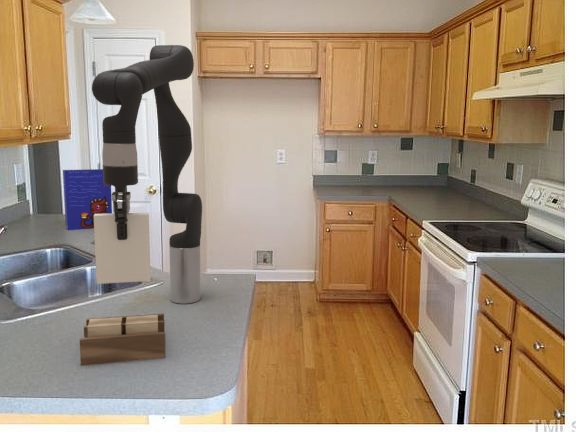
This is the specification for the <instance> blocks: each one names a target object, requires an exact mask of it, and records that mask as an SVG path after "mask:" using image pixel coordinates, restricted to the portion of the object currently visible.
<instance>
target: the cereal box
mask: <svg viewBox="0 0 576 432" xmlns="http://www.w3.org/2000/svg"><path fill="white" fill-rule="evenodd" d="M62 178H63V180H62V181H63V182H62V183H63V200H64V218H65V220H64V221H65V229H66V230H67V231H74V230H75V231H77V230H88V229H94V214H110V213H113V201H112V186H109V185H105V184H104V183H103V168H101V169H99V168H98V169H96V168H95V169H93V168H92V169H91V168H90V169H88V168H87V169H62Z"/></svg>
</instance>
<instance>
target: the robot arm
mask: <svg viewBox="0 0 576 432" xmlns="http://www.w3.org/2000/svg"><path fill="white" fill-rule="evenodd" d="M194 65H195V63H194V56H193V53H192V51H191V49H190V48H189V47H188V46H186V45H181V44H167V45H166V44H161V45H154V46H152V48H151V49H150V52H149V59H148V60H142V61H139V62H135V63H133V64H131V65H128V66H126V67H123V68H116V69H110V70H104V71H101V72H100V73H98V74H97V75H96V76H95V77H94V79H93V80H92V84H91V92H92V95H93V97H94V98H95V100H96V101H97V102H99V103H100V104H102V105H106V106H120V108H119V111H118V112H117V114H115V115H109V116H107V117H104V118H103V120H102V126H101V127H102V128H101V129H102V150H101V151H102V152H101V153H102V154H101V157H102V158H101V159H102V169H103V183H104V184H105V185H109V186H111V187H112V186H113V187H114V191H112V192H111V198H112V213H115V223H116V224H117V239H118V240H126V239H127V222H128V220H127V213H130V210H131V191H128V186H135V185H138V183H139V173H138V172H139V171H138V167H139V166H138V163H139V162H138V151H137V150H138V149H137V144H136V143H137V142H136V141H137V139H136V133H137V132H136V125H137V120H138V119H137V118H138V114H139V110H140V106H141V102H142V99H143V95H144V94H146V93H148V92H149V91H152V90H153V94H154V98H155V99H154V100H155V105H156V106H155V107H156V117H157V131H158V144H159V151H160V152H159V153H160V161H161V171H162V210H163V216H164V218H165V220H166V221H167V222H169V223H173V224H184V225H185V229H184V230H183V231H182V232H177V233H175V234H172V235H171V236H170V237H169V239H168V240H169V290H170V294H169V297H170V301H171V302H172V303H176V304H181V305H182V304H193V303H196V302H199V301H200V300H201V238H202V219H203V201H202V198H201V196H200V194H197V193H192V192H191V193H190V192H179V186H178V185H179V179H180V175H181V172H182V171H183V169H184V167H185V165H186V164H187V162H188V160H189V159H190V156H191V155H192V154H191V153H192V150H193V143H192V142H193V141H192V140H193V139H192V128H191V125H190V123H189V120H188V119H187V118H186V115H185V114H184V112H182V110H181V109H180V107H179V106H178V104H177V103H176V101H175V99H174V97H173V94H172V91H171V87H170V86H171V85H170V83H171V82H175V81H184V80H187V79H189V78H190V77H191V76H192V74H193V72H194ZM118 215H124V217H118Z"/></svg>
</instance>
